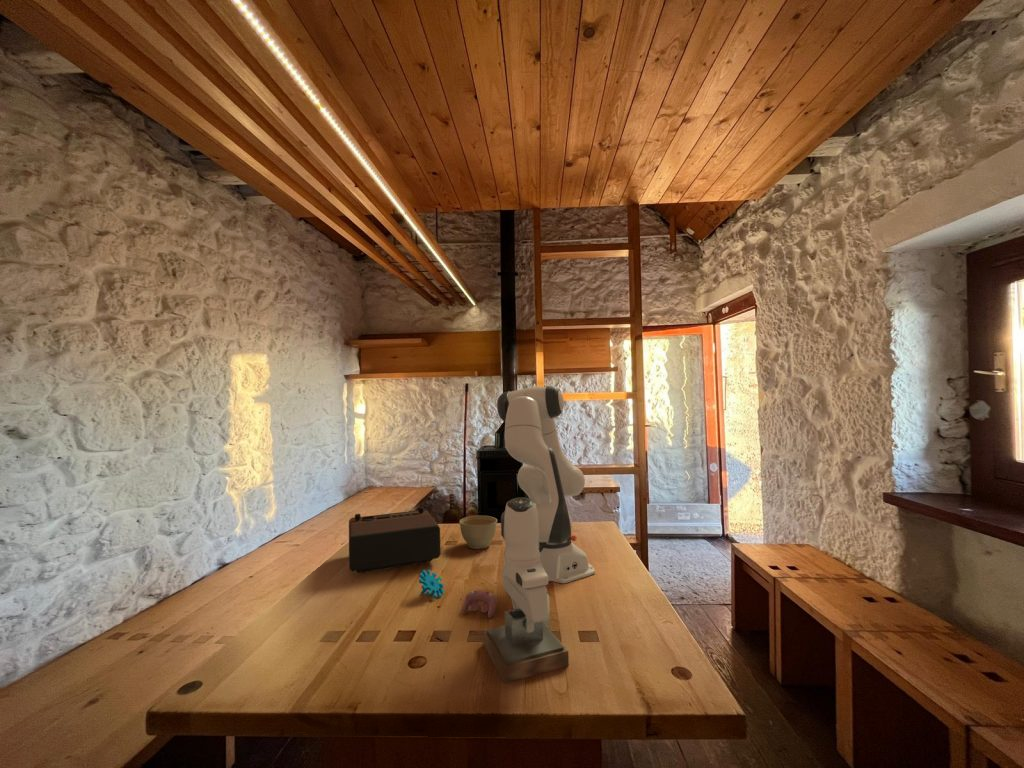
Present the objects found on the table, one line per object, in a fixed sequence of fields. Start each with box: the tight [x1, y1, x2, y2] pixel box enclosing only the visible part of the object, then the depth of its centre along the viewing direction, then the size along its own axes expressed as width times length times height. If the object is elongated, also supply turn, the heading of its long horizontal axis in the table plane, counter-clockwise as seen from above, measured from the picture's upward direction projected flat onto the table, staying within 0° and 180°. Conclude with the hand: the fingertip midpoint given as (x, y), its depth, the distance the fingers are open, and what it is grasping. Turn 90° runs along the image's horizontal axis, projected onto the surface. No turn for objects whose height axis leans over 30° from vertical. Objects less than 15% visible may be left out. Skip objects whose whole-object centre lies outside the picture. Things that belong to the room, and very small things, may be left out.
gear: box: [418, 569, 445, 599], centre depth 138 cm, size 11×6×10 cm
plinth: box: [482, 623, 570, 684], centre depth 104 cm, size 16×16×4 cm
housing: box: [504, 609, 543, 647], centre depth 104 cm, size 5×8×6 cm, turn 111°
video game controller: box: [461, 589, 498, 620], centre depth 125 cm, size 10×5×7 cm, turn 72°
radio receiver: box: [348, 506, 441, 574], centre depth 168 cm, size 35×27×18 cm
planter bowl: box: [459, 515, 498, 550], centre depth 183 cm, size 16×16×11 cm
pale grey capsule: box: [543, 593, 551, 629], centre depth 118 cm, size 6×6×8 cm
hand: (523, 623), depth 104 cm, fingers open, 6 cm apart
